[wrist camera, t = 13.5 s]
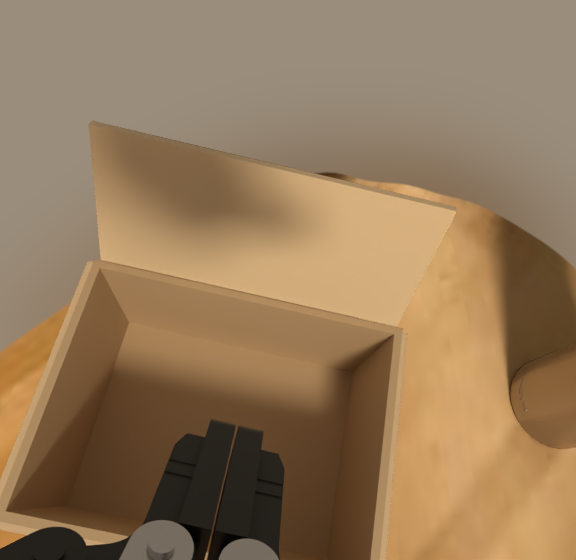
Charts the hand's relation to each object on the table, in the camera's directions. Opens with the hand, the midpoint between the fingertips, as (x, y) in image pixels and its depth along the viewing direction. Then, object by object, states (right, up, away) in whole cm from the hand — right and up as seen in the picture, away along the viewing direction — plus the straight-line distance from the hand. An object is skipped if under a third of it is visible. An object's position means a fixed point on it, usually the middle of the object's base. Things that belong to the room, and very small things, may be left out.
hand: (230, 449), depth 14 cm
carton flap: (0, +8, +20) cm, 22 cm away
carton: (-5, -10, +33) cm, 35 cm away
